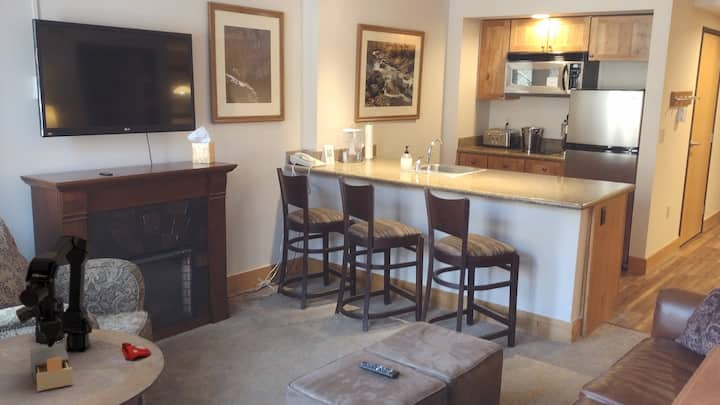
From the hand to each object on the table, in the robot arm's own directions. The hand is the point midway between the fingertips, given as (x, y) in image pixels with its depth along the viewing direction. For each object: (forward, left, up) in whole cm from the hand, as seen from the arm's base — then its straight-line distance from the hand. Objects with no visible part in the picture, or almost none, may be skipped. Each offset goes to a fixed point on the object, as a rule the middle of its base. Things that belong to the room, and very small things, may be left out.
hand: (48, 341), depth 196 cm
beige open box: (-2, +2, -11) cm, 12 cm away
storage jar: (+13, -29, -12) cm, 34 cm away
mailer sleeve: (+2, -4, -12) cm, 13 cm away
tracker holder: (-21, -19, -13) cm, 31 cm away
